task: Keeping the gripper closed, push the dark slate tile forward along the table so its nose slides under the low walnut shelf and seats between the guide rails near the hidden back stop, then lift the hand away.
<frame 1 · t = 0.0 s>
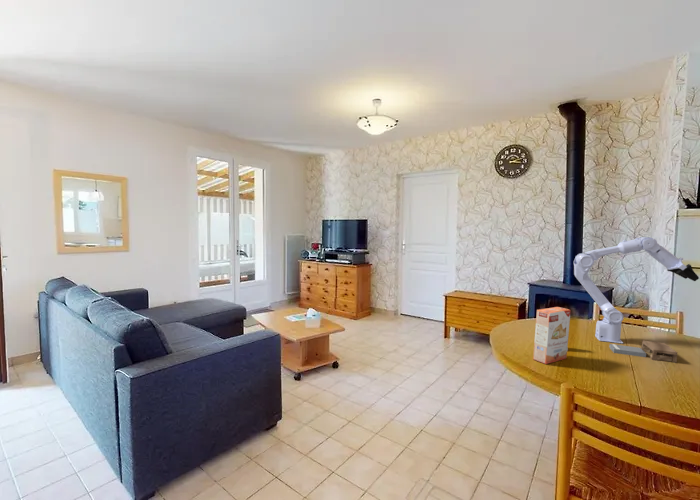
hand: (692, 278, 152), 32 cm above the table, tool tilted 50°, fingers open, 7 cm apart
tile: (626, 353, 150), on the table
salt shaker: (560, 349, 153), on the table
cracker box: (550, 359, 140), on the table
shelf: (658, 356, 145), on the table
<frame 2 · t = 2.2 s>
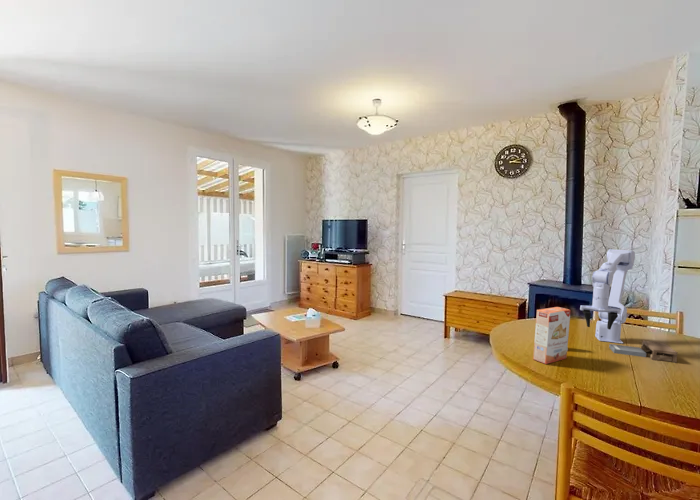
hand: (598, 327, 153), 9 cm above the table, tool pointing down, fingers open, 7 cm apart
nothing on the table moved.
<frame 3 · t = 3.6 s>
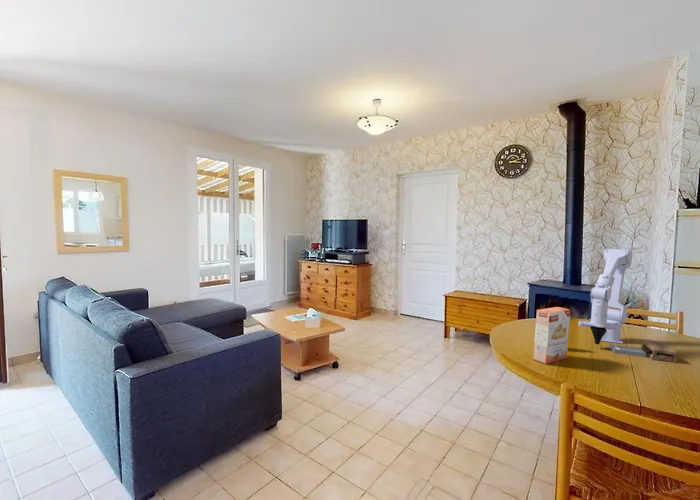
hand: (596, 343, 154), 2 cm above the table, tool pointing down, fingers closed
nothing on the table moved.
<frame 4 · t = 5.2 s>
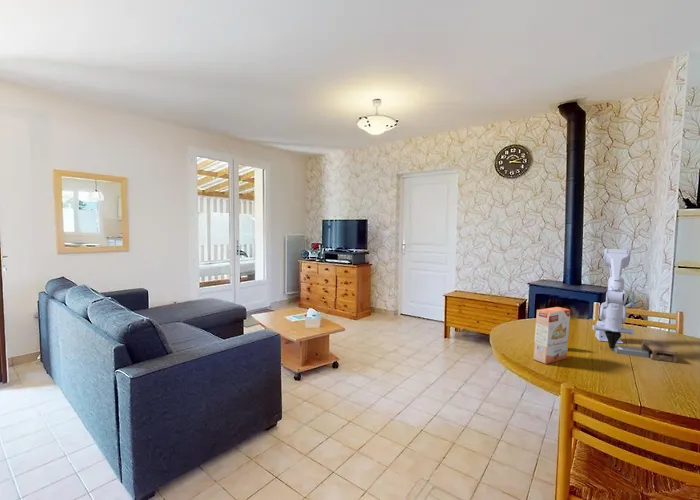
hand: (611, 348, 152), 1 cm above the table, tool pointing down, fingers closed
nothing on the table moved.
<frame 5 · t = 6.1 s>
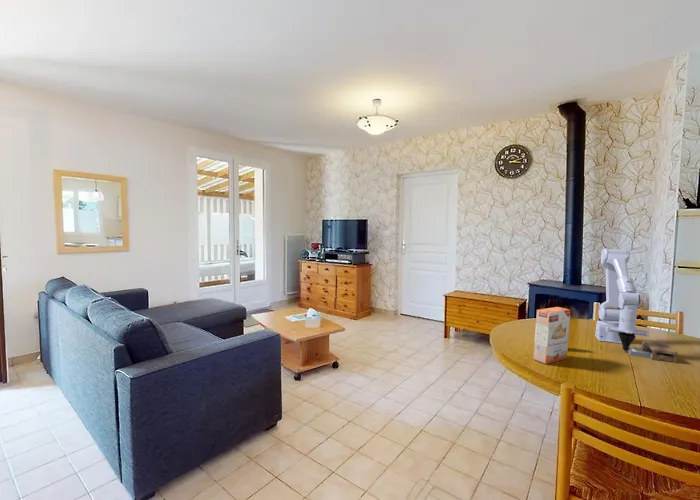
hand: (625, 349, 150), 1 cm above the table, tool pointing down, fingers closed
tile: (643, 355, 147), on the table, touching gripper
everything else where it was.
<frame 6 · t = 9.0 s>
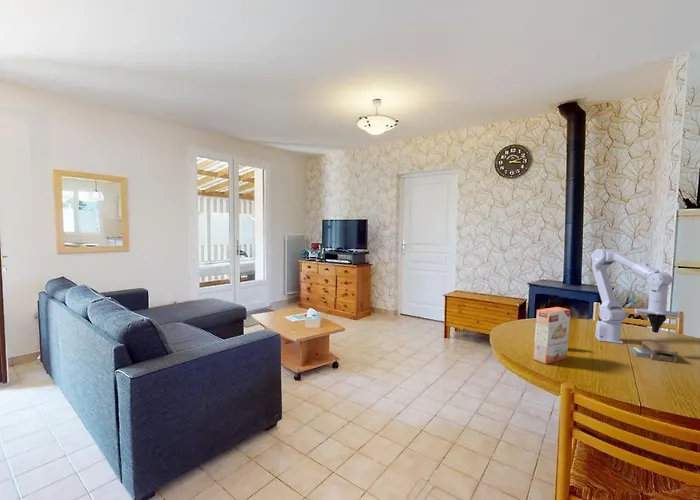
hand: (655, 332, 147), 10 cm above the table, tool pointing down, fingers closed
tile: (648, 356, 146), on the table
everything else where it was.
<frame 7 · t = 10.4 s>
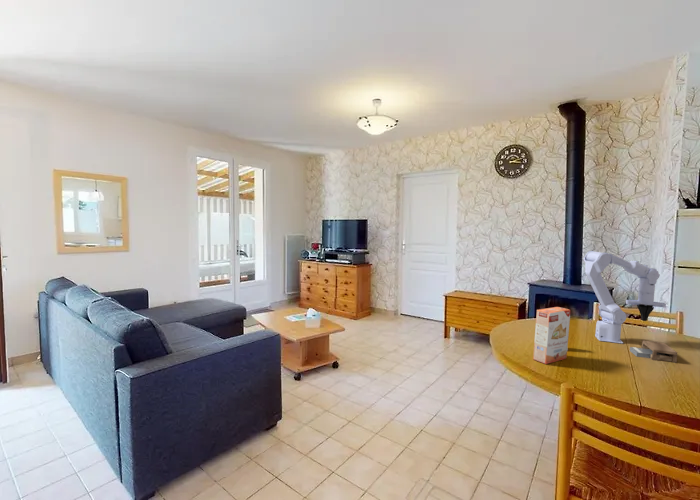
hand: (643, 320, 164), 10 cm above the table, tool pointing down, fingers closed
nothing on the table moved.
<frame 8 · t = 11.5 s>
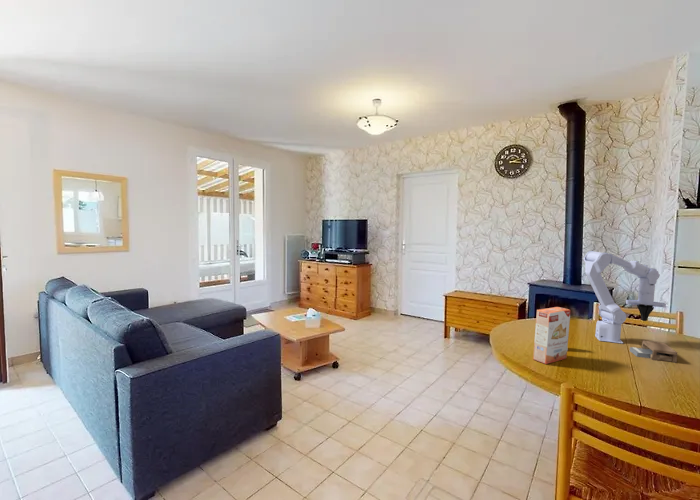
hand: (643, 320, 164), 10 cm above the table, tool pointing down, fingers closed
nothing on the table moved.
at the end: tile 0.6 cm from the target spot, on the table; tile tilted 0° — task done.
